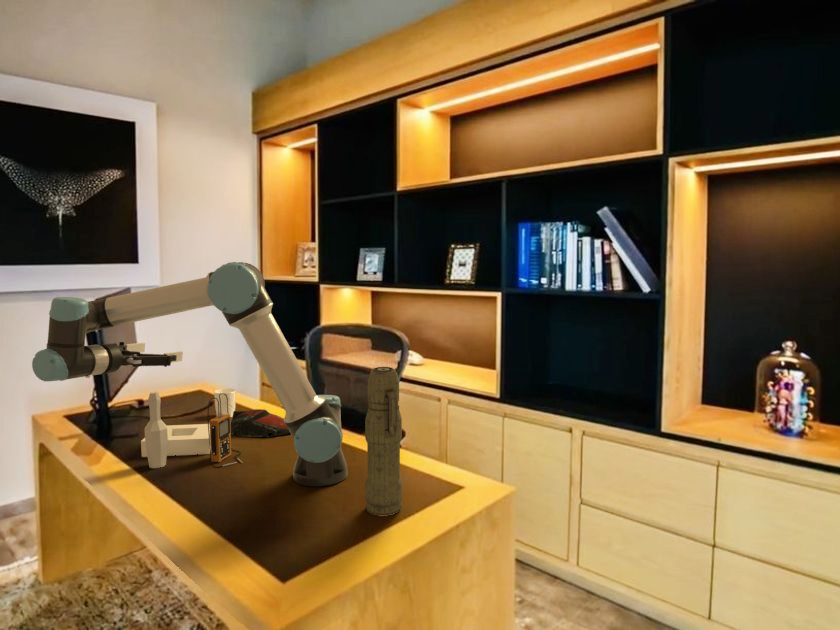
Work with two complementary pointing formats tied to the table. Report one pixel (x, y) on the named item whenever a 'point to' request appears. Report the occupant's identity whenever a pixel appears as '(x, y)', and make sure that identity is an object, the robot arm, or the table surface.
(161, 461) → the low poly bottle
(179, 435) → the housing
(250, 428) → the drone shell
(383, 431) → the thermos
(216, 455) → the multimeter
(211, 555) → the table surface
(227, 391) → the white cup
